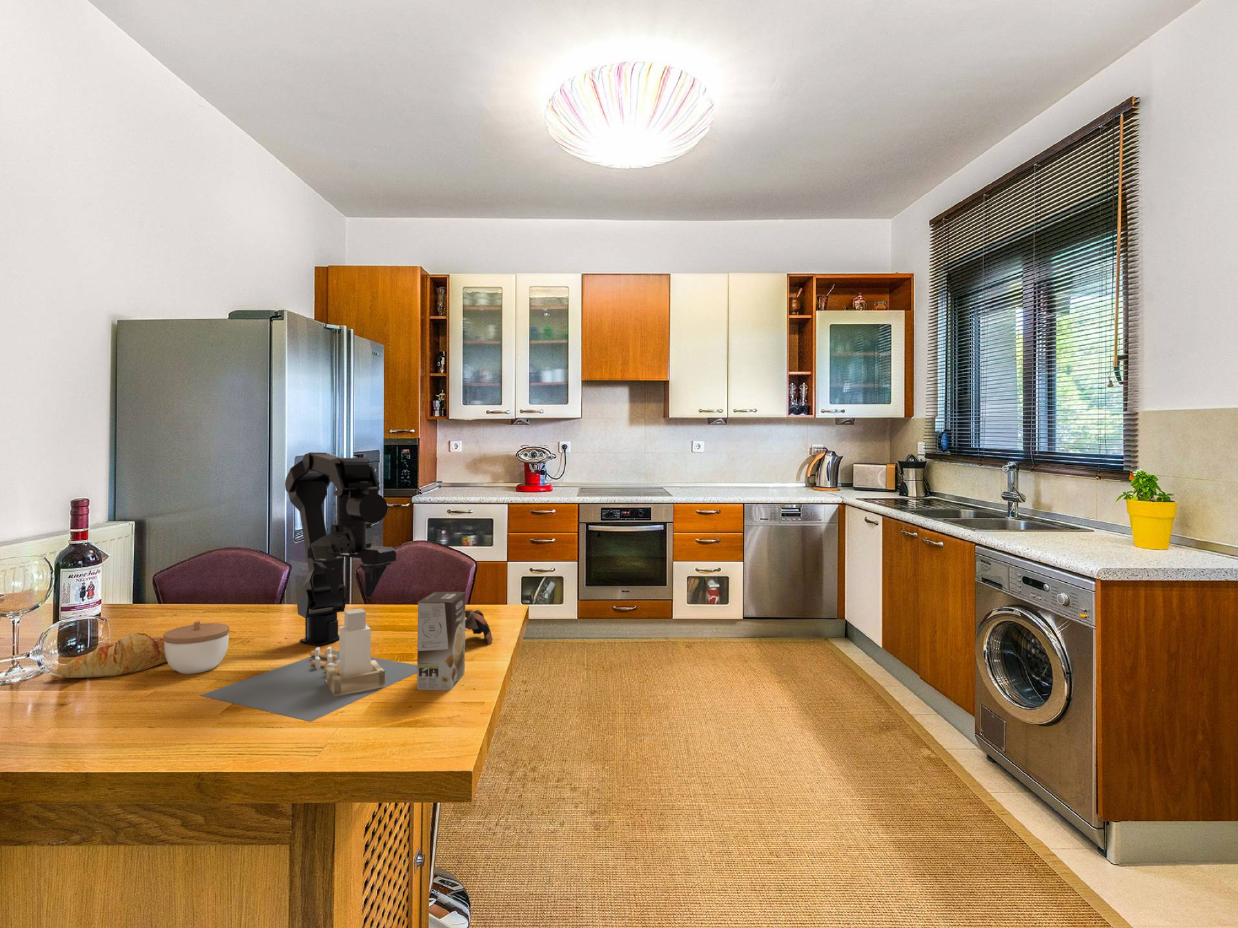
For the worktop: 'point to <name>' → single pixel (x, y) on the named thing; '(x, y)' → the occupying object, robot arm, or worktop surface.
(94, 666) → the bread loaf
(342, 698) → the slate mat
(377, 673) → the end holder
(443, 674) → the coffee box
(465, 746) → the worktop surface
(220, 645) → the lidded jar
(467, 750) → the worktop surface
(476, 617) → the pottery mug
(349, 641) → the white square bottle
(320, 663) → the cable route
